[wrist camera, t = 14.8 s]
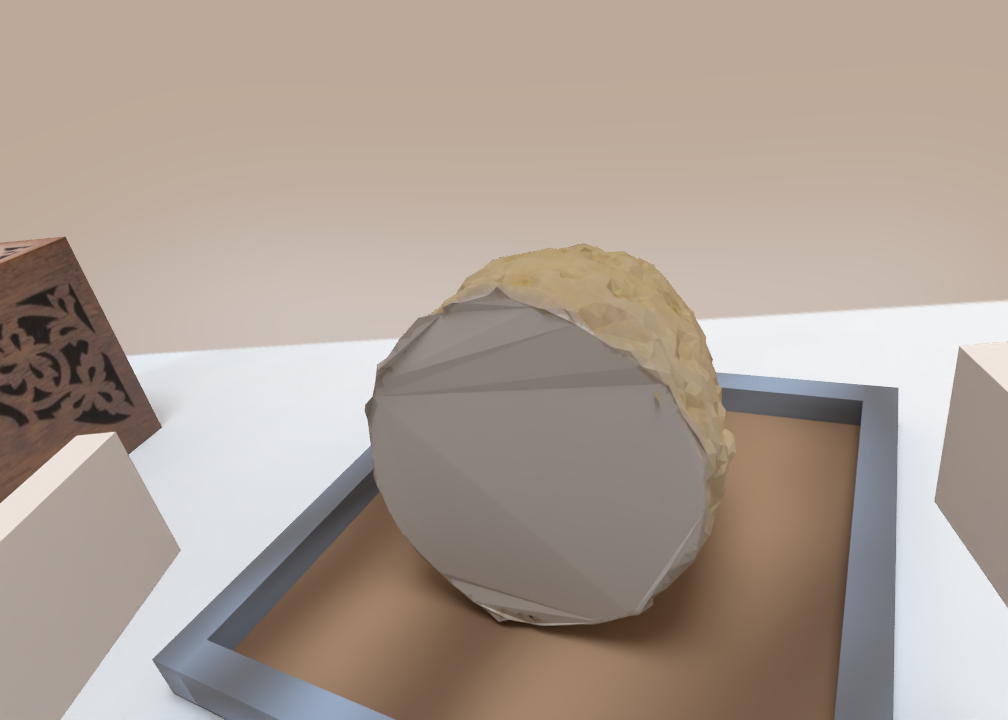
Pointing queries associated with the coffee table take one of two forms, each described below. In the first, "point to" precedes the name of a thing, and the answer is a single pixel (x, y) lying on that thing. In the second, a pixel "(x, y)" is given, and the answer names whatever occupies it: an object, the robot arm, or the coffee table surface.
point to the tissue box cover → (58, 363)
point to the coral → (554, 436)
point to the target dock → (600, 647)
